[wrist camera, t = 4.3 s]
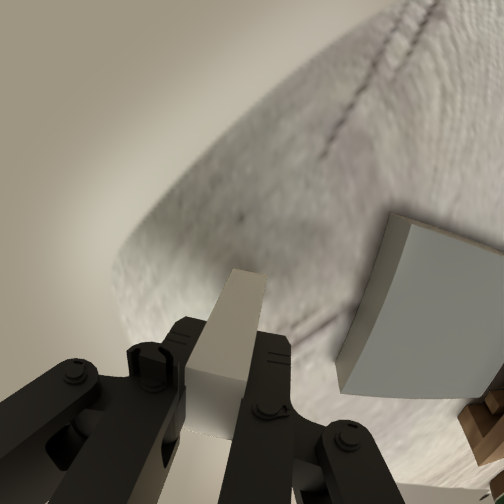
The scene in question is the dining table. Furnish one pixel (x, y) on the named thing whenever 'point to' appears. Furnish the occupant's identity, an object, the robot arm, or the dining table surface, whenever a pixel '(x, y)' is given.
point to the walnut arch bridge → (485, 427)
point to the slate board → (426, 318)
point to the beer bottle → (498, 488)
